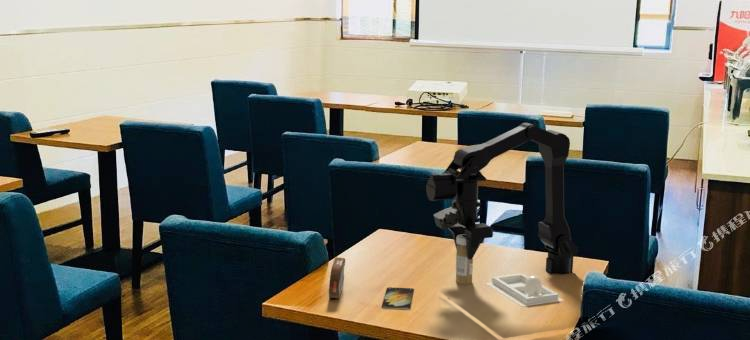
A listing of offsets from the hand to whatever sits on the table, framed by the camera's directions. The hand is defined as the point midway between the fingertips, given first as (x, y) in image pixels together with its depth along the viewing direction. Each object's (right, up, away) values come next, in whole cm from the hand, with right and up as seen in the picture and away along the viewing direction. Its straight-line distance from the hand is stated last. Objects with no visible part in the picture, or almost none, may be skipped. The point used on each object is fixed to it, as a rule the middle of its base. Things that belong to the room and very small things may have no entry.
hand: (464, 255), depth 221 cm
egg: (+16, -9, -9) cm, 21 cm away
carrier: (+15, -9, -5) cm, 18 cm away
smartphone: (-18, -10, -8) cm, 22 cm away
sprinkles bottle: (0, -8, +2) cm, 8 cm away
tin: (-33, -9, -5) cm, 35 cm away
